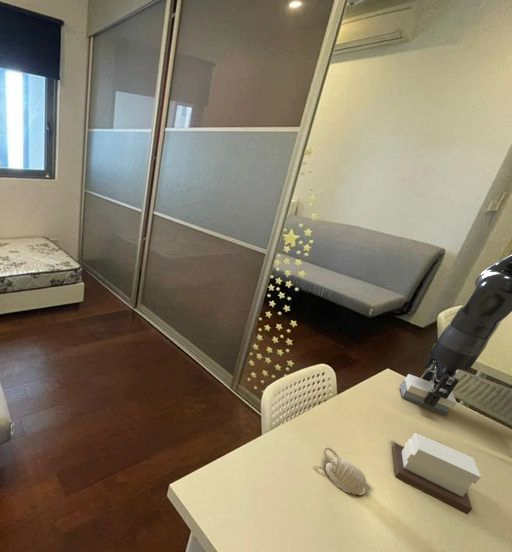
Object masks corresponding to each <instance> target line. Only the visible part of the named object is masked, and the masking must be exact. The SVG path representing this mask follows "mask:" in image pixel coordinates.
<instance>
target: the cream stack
mask: <svg viewBox="0 0 512 552" xmlns="http://www.w3.org/2000/svg"><path fill="white" fill-rule="evenodd" d="M391 448H392V449H391V451H392V459H393V460H392V461H393V468H394V469H393V470H394V477H395V478H396V479H399V480H400V481H402V482H405V483H406V484H408V485H410V486H412V487H414V488H416V489H418V490H420V491H422V492H424V493H426V494H428V495H429V496H432V497H434V498H436V499H437V500H439V501H442V502H443V503H446V504H447V505H449V506H451V507H454V508H455V509H457V510H459V511H461V512H463V513H465V514H469V513H471V511H472V510H473V508H472V504H471V500H470V498H469V495H468V491H469V488H470V487H471V486H472V484H474V485H476V484H477V482H479V480H480V479H481V478H482V475H481V474H480V471H479V469H478V466H477V464H476V460H475V459H474V457H472V456H470V455H468V454H466V453H464V452H460V451H458V450H456V449H454V448H452V447H450V446H447V445H444V444H442V443H439V442H438V441H435V440H433V439H432V438H431V439H430V438H428V437H427V436H424V435H422V434H419V433H416V432H414V433H413V435H412V437H411V438H410V437H409V438H408V440H407V441H406V442H405V444H404V446H403V445H400V444H398V443H396V442H394V443H393V445H392V446H391Z"/></svg>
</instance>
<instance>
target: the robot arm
mask: <svg viewBox="0 0 512 552" xmlns="http://www.w3.org/2000/svg"><path fill="white" fill-rule="evenodd" d="M474 286H475V288H474V291H473V292H472V294H471V296H470V297H469V298H468V300H467V302H466V303H465V304H464V305H462V306H461V307H460V308H459V309H458V310H457V312H455V315H454V316H453V318H452V319H451V321H450V322H449V324H448V325H447V326H446V327H445V328H444V329H443V331H442V332H441V334H440V335H439V337H438V338H437V340H436V342H435V343H434V344H433V347H432V348H431V349H430V352H429V353H430V356H429V359H428V360H427V362H426V363H425V365H424V371H423V372H424V374H423V376H422V377H421V379H424V380H427V381H429V382H431V383H432V386H431V389H430V391H429V392H428V394H427V395H426V397H425V398H424V400H423V401H424V403H425V404H427V405H430V406H432V407H434V406H435V405H436V404H437V402H438V401H439V400H440V398H441V397H442V398H444V399H447V398H448V396H449V395H450V393H451V392H454V391H453V390H454V389H455V388H456V386H457V385H458V383H459V381H460V379H459V378H457V377H456V376H457V371H460V370H463V371H467V370H470V369H471V368H472V367H473V366H474V364H475V363H476V362H477V360H478V359H479V357H480V356H481V354H482V353H483V352H484V350H485V349H486V347H487V345H488V343H489V341H490V339H491V338H492V336H493V335H494V334H495V332H497V329H498V328H499V327H500V325H501V323H502V321H504V319H506V318H507V317H508V316H509V315H510V314H511V313H512V254H511V255H508V256H506V257H504V258H503V259H501V260H499V261H497V262H495V263H494V264H492V265H491V266H489V267H487V268H486V269H485V270H482V272H480V274H479V275H477V277H476V278H475V281H474ZM436 385H437V386H436ZM441 388H442V390H441V391H439V390H440V389H441Z"/></svg>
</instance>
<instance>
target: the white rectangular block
mask: <svg viewBox="0 0 512 552" xmlns="http://www.w3.org/2000/svg"><path fill="white" fill-rule="evenodd" d="M404 380H405V381H406V386H407V391H409V392H411V393H414V394H417V395H419V396H422V397H424V398H425V397H426V395H427V394H428V392H429V391H430V389H431V386H432V383H431V382H429V381H427V380H424V379H422V377H419V376H416V375H413V374H410V373H408V374H407V375H406V377H405V378H404ZM436 386H437V385H436ZM441 390H442V388H441V389H440V390H439V391H441ZM437 403H439V404H442V405H445V406H447V407H450V409H454V408H455V407H456V405H457V400H456V397H455V394H454V391H452V392H451V393H450V395H449V396H448V398H447V399H444V398H442V397H441V398H440V400H439V401H438V402H437Z"/></svg>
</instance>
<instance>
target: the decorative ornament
mask: <svg viewBox="0 0 512 552" xmlns="http://www.w3.org/2000/svg"><path fill="white" fill-rule="evenodd" d="M327 450H328V451H329V452H331V453H332V454H333V456H334V458H332V459H331V458H330V456H329V455H328V454H327ZM322 453H323V456H324V457H325V459H326V460H327V461H328V462H327V463H326V464H325V472H326V474H327V476H328V477H329V479H330V481H332V483H333V484H334V485H335V486H336V487H338V488H339V489H341V490H342V491H343V492H344V493H349V494H352V495H358V496H362V495H364V494H365V493H366V488H365V485H366V482H367V479H366V475H365V474H364V472H363V471H362V470H361V469H360V468H359V467H357V465H355V464H354V463H352V462H350V461H349V460H347V459H345V458H343V457H339V455H338V453H337V452H336V451H335V450H334V449H333V448H331V447H329V446H324V447H323V449H322Z"/></svg>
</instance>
